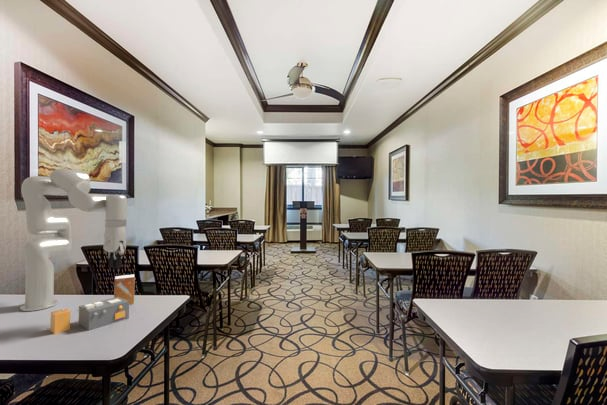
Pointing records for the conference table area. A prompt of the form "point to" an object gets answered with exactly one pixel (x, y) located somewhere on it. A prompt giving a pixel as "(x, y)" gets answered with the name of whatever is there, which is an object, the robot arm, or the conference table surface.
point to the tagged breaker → (114, 301)
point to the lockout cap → (60, 321)
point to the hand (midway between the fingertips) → (115, 267)
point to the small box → (125, 287)
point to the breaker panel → (103, 313)
